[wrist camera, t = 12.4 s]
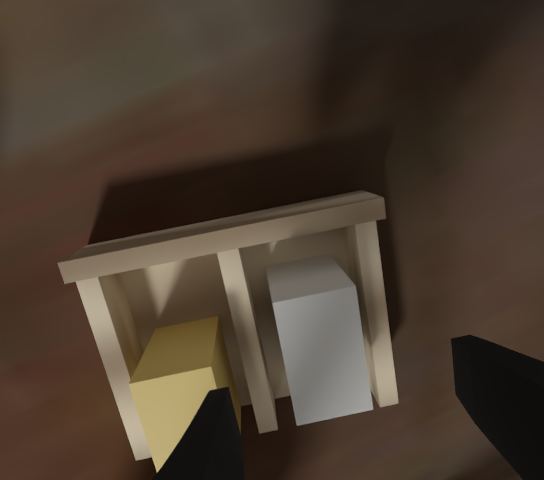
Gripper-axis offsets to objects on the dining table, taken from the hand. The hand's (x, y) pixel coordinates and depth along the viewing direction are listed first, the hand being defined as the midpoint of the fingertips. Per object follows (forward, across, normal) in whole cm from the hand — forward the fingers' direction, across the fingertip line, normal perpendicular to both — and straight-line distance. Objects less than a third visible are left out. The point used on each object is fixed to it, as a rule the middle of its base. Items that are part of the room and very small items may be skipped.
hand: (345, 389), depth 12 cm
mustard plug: (+9, +6, +4) cm, 12 cm away
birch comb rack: (+10, +3, +1) cm, 10 cm away
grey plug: (+9, 0, +1) cm, 9 cm away
